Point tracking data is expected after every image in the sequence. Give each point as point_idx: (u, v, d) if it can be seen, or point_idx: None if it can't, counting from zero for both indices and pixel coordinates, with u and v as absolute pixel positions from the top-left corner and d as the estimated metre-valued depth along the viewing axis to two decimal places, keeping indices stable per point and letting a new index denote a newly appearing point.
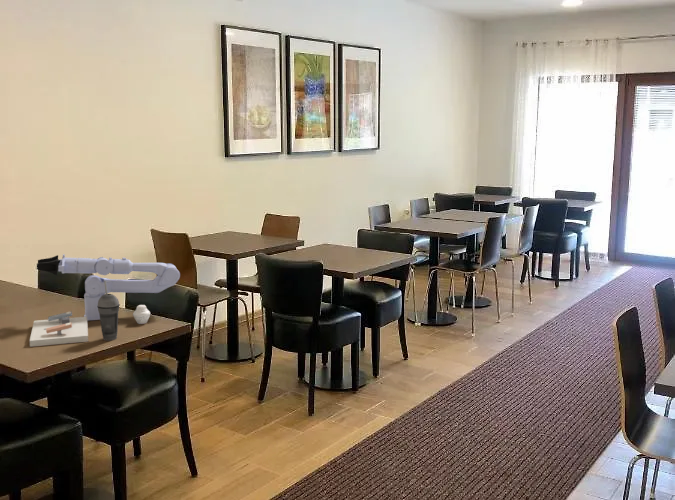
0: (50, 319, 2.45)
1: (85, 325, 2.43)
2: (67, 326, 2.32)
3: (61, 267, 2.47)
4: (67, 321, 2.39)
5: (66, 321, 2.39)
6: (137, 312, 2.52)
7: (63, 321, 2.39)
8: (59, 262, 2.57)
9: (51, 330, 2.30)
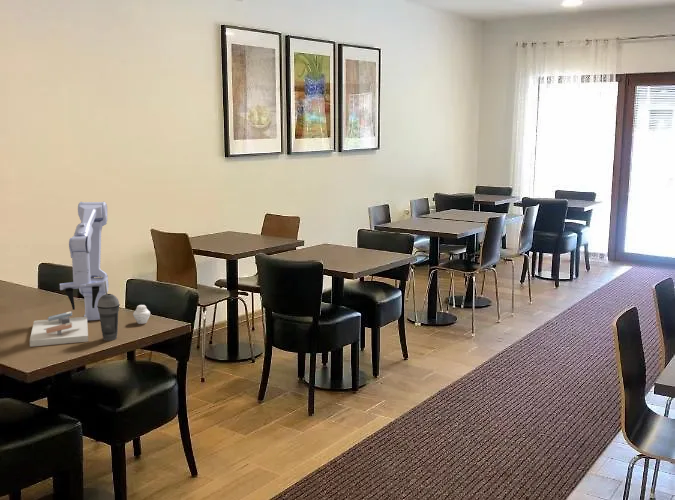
0: (50, 319, 2.45)
1: (85, 325, 2.43)
2: (67, 326, 2.32)
3: (104, 284, 2.42)
4: (67, 321, 2.39)
5: (66, 321, 2.39)
6: (137, 312, 2.52)
7: (63, 321, 2.39)
8: (71, 288, 2.39)
9: (51, 330, 2.30)
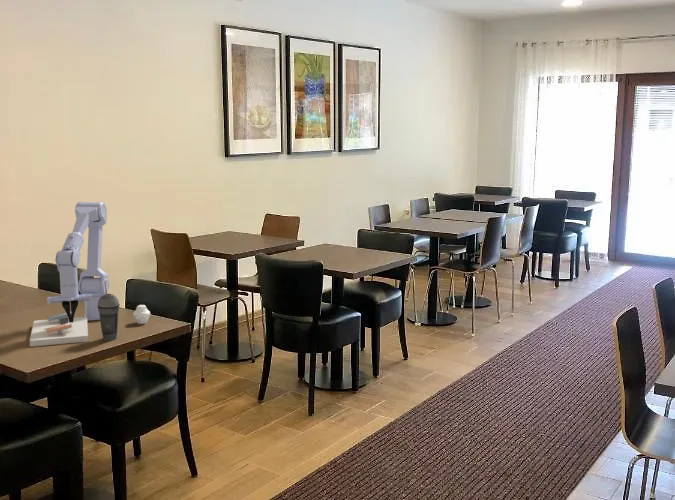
0: (50, 319, 2.45)
1: (85, 325, 2.43)
2: (67, 326, 2.32)
3: (92, 297, 2.42)
4: (66, 321, 2.39)
5: (65, 321, 2.39)
6: (137, 312, 2.52)
7: (62, 321, 2.38)
8: (59, 302, 2.38)
9: (51, 330, 2.30)
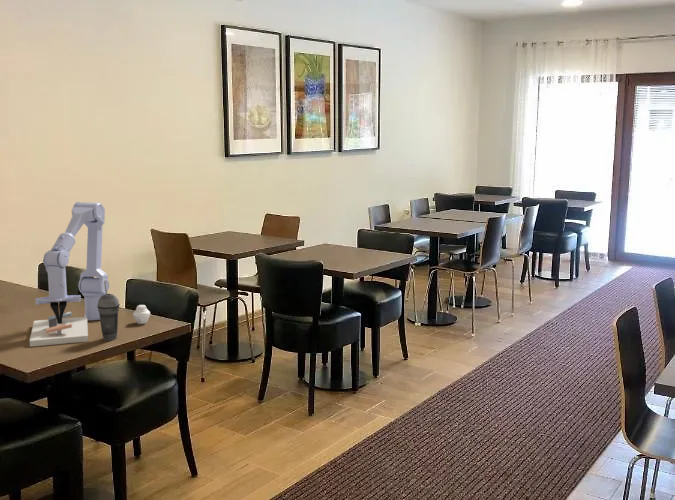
0: None
1: (85, 325, 2.43)
2: (67, 326, 2.32)
3: (80, 298, 2.40)
4: (54, 322, 2.38)
5: (53, 322, 2.38)
6: (137, 312, 2.52)
7: (50, 322, 2.37)
8: (47, 303, 2.37)
9: (51, 330, 2.30)
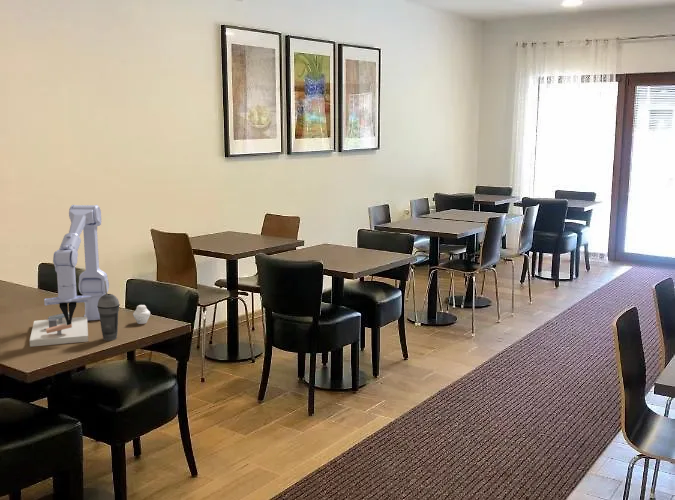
0: None
1: (85, 325, 2.43)
2: (67, 326, 2.32)
3: (90, 298, 2.34)
4: (54, 322, 2.38)
5: (53, 322, 2.38)
6: (137, 312, 2.52)
7: (50, 322, 2.37)
8: (56, 303, 2.30)
9: (51, 330, 2.30)
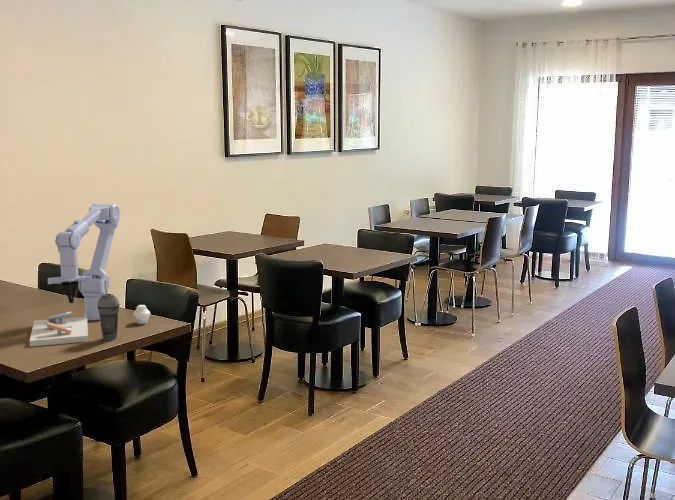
0: None
1: (85, 325, 2.43)
2: (67, 330, 2.32)
3: (91, 278, 2.46)
4: (54, 322, 2.38)
5: (53, 322, 2.38)
6: (137, 312, 2.52)
7: (50, 322, 2.37)
8: None
9: (51, 326, 2.30)
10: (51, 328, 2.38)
